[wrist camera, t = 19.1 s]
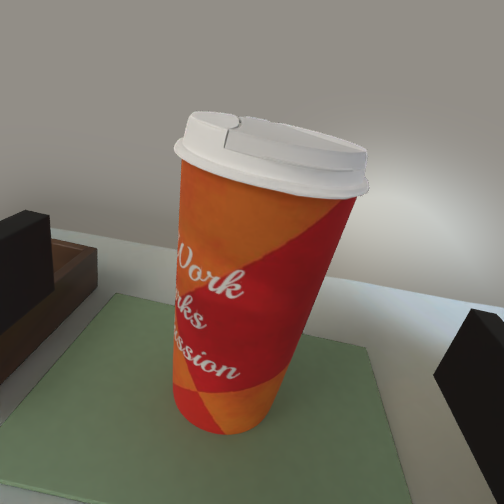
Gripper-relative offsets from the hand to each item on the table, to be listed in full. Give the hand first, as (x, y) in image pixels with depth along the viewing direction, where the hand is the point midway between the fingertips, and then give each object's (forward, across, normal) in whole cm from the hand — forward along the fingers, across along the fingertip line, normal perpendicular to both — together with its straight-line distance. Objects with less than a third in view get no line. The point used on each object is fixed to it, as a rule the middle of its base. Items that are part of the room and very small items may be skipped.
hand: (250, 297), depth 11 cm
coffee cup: (+6, 0, -11) cm, 12 cm away
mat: (+6, 0, -11) cm, 12 cm away
